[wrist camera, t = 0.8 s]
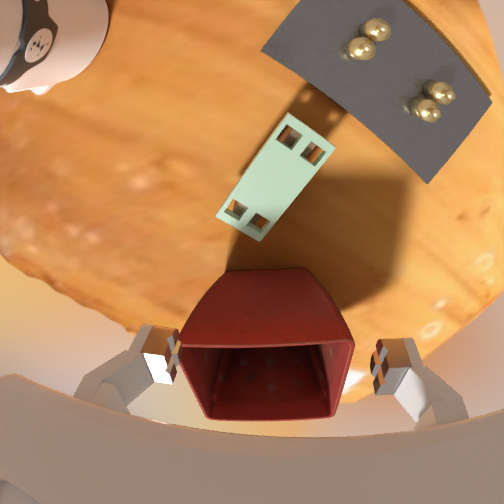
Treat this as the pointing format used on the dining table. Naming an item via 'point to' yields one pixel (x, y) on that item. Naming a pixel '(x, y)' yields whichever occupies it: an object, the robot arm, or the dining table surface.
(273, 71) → the dining table surface
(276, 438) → the robot arm
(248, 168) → the board
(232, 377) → the plant pot
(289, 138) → the stand
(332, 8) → the peg assembly base
